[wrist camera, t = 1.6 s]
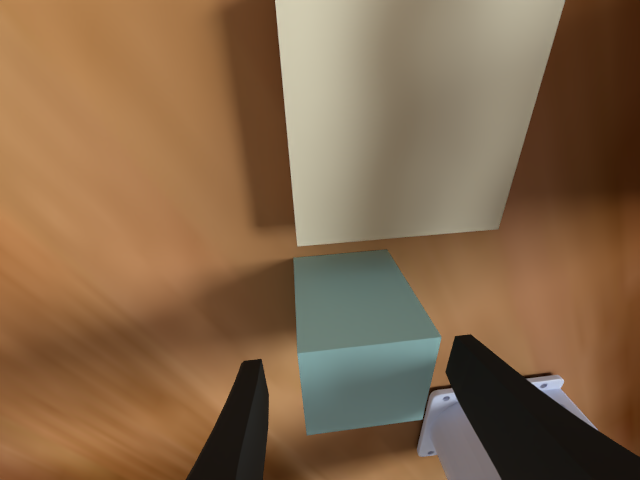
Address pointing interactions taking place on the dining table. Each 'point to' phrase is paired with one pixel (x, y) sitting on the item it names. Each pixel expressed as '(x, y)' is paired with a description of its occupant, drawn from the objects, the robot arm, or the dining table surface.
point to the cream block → (407, 111)
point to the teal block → (361, 342)
